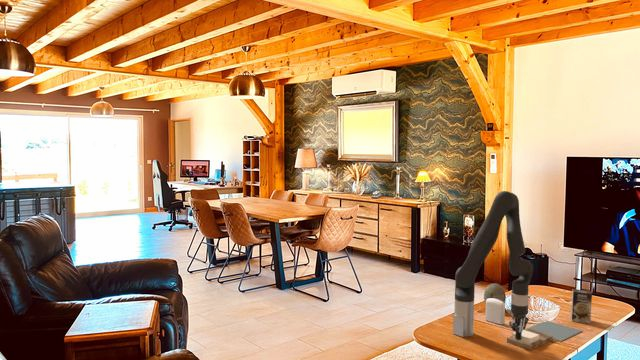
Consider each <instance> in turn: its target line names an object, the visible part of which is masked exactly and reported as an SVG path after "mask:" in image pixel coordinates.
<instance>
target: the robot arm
mask: <svg viewBox="0 0 640 360" xmlns="http://www.w3.org/2000/svg"><path fill="white" fill-rule="evenodd" d="M504 218H505V219H506V242H507V246H508V251H509V252H508V253H509V254H508V270H509V272H510V274H511V276H513V277H514V276H515V277H518V278H517V279H515V280H513V281H512V285H511V286H512V287H511V296H510V299H511V300H510V313H512V320H511V321H509V323H508V325H509V326H510V328H511V331H513V332H516V335H515V338H516V339H517V340H521V338H522V331H523V330H524V329H526V328H527V325H528V322H529V317H527V315H528V313H529V285H530V283H531V279H532V277H533V274H534V273H533V272H534V267H533V263H532V262H531V261H530V260H528V259H520V256H522V255H524V254H525V253H526V247H525V242H524V241H525V240H524V238H523V232H522V227H521V220H520V199H519V197H518V196H517V194H515V193H513V192H510V191H507V190H503V191H500V192H498V193H497V194H496V195H495V197H494V200H493V202H492V204H491V205H490V210H489V211H488V214H487V215H486V218H485V219H484V221H483V223H482V225H481V226H480V228H479V230H478V231H477V234H476V235H475V237H474V239H473V241H472V244H471V246H470V247H469V251H468V255H467V257H466V259H465V261H464V262H463V264H462V266H460V267H458V268H457V270H456V271H455V277H454V279H455V285H454V286H455V287H454V312H453V313H454V314H453V316H452V317H453V319H452V334H453V335H456V336H459V337H462V338H466V337H472V336H474V323H475V322H474V320H475V319H474V317H475V314H474V313H475V290H476V289H475V284H476V282H475V281H476V278H477V276H478V273H479V272H480V271H479V270H480V268H481V266H482V264H483V263H484V262H485V260H486V259H487V257H488V255H489V254H490V252H491V251H492V249H493V247H494V246H495V244H496V242H497V240H498V238H499V234H500V228H501V224H502V223H503V220H504Z"/></svg>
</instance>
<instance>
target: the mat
mask: <svg viewBox="0 0 640 360" xmlns="http://www.w3.org/2000/svg"><path fill="white" fill-rule="evenodd" d="M545 321H546V320H545ZM528 329H532V330H535V331H538V332H542V333H545V334H548V335H551V336H553V340H554V341H558V342H560V343H562V342H563V341H565V340H567V339H569V338H571V337H574V336H576V335H578V334H580V333H582V332H583V330H581V329H578V328H575V327H572V326H569V325H564V324H562V323H561V324H560V323H558V322H554V321H550V320H547V321H546V322H543V321H541V322H538V323H536V324H534V325H531V326H529V327H525V329H524V330H528Z"/></svg>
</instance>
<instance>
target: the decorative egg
mask: <svg viewBox="0 0 640 360" xmlns="http://www.w3.org/2000/svg"><path fill="white" fill-rule="evenodd" d="M489 298H495V299H498V300H501V301H502V302H504V303H506V293H505V289H504V288H503V286H501V284H499V283H496V282H494V283H493V282H492V283H490V284H488V285H487V286H486V287H485V289H484V292H483V301H484V304H485V305H486V300H487V299H489Z"/></svg>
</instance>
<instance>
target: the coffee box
mask: <svg viewBox="0 0 640 360" xmlns="http://www.w3.org/2000/svg"><path fill="white" fill-rule="evenodd" d="M571 291H572V293H571V295H572V296H571V309H570V320H571V322H575V323H583V324H585V323H586V324H591V316H592V315H591V314H592V302H593V299H592V298H593V294H592V291H591V290H585V289H575V288H572V290H571Z"/></svg>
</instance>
